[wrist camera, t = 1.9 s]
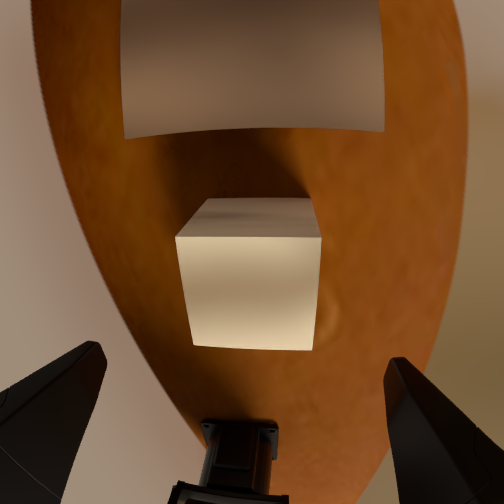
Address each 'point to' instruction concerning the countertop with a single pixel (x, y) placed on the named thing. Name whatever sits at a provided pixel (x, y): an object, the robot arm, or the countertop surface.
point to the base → (250, 65)
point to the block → (251, 272)
